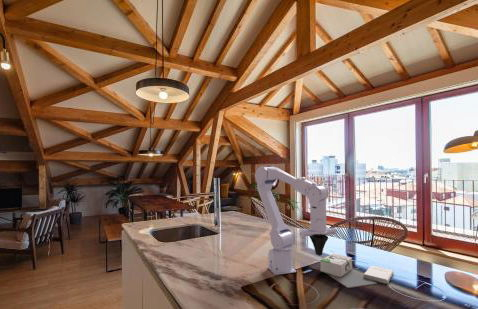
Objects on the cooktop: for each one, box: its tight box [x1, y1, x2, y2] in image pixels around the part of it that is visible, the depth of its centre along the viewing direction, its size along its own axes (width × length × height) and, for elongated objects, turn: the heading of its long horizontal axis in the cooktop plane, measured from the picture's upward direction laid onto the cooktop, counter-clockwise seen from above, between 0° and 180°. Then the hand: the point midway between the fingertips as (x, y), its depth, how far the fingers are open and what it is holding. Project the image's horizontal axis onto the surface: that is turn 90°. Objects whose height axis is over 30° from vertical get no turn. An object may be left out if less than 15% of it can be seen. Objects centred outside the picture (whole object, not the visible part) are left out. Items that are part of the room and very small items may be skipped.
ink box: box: [319, 253, 353, 277], centre depth 107 cm, size 9×5×12 cm
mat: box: [325, 268, 378, 289], centre depth 101 cm, size 12×14×1 cm
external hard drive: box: [362, 265, 394, 284], centre depth 102 cm, size 2×8×12 cm
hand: (318, 254), depth 98 cm, fingers closed
